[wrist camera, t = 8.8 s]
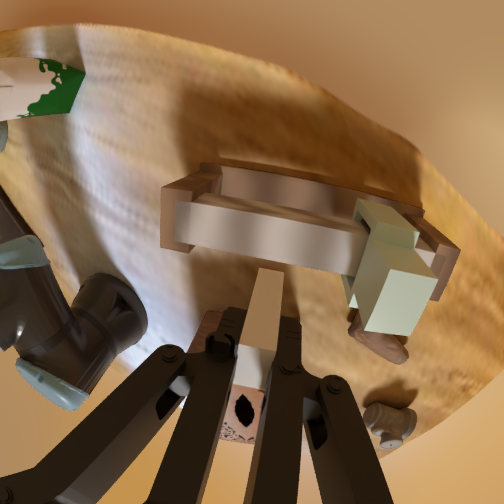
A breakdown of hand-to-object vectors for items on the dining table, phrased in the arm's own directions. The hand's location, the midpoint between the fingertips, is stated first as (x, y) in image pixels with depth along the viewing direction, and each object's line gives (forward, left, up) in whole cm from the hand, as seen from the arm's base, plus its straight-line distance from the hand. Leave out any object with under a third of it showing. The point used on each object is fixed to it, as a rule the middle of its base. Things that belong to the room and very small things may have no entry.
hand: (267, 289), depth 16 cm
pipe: (+19, -14, -19) cm, 30 cm away
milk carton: (-37, +16, -19) cm, 45 cm away
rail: (+4, 0, -19) cm, 19 cm away
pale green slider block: (+9, 0, -14) cm, 16 cm away
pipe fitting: (+32, -38, -19) cm, 53 cm away
